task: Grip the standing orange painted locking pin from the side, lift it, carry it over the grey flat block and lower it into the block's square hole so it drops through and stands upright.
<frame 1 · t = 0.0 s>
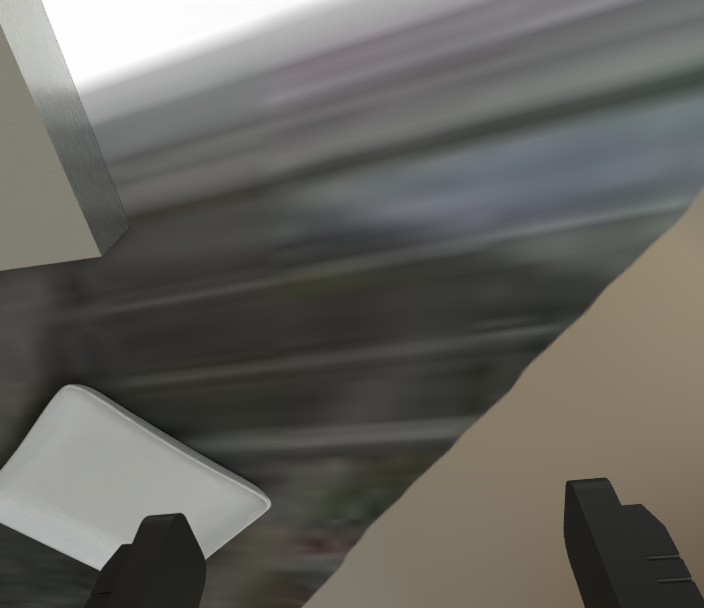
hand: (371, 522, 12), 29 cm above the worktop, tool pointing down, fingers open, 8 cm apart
salad plate: (132, 478, 55), on the worktop
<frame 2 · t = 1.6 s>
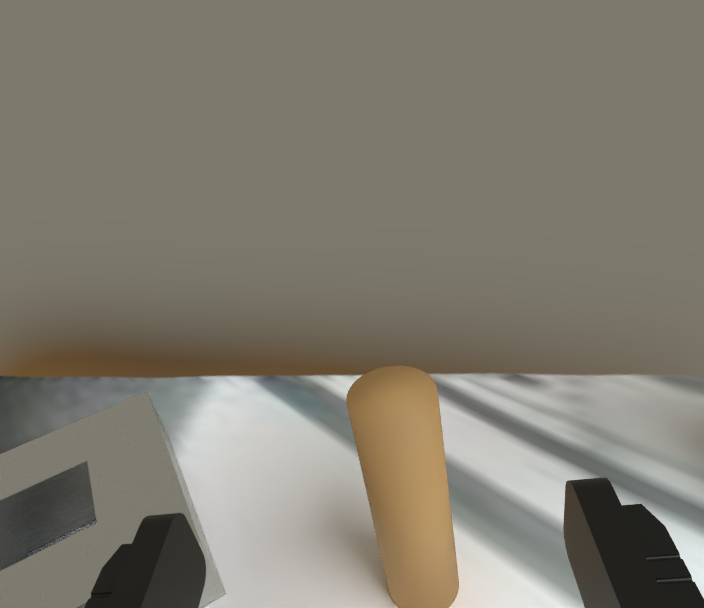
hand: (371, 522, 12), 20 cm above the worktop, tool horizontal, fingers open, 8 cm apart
locking pin: (423, 581, 31), on the worktop
grey flat block: (75, 563, 36), on the worktop
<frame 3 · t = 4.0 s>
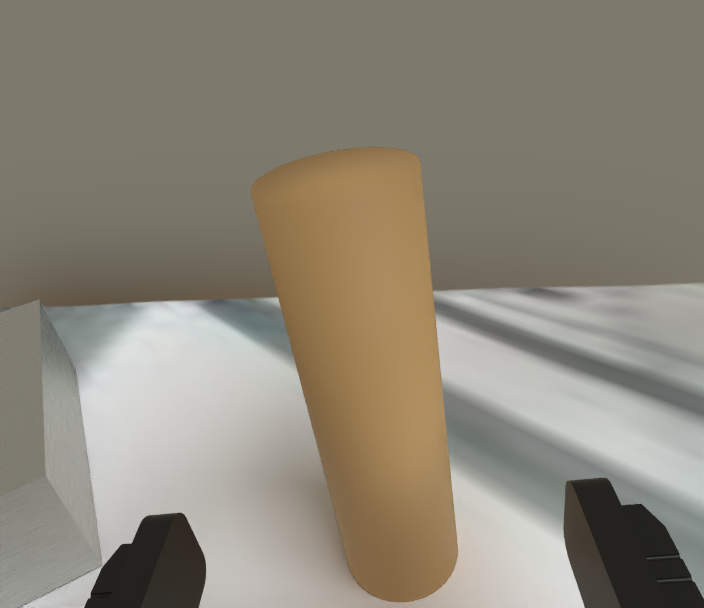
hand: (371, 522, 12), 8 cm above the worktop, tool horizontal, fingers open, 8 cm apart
locking pin: (401, 548, 20), on the worktop
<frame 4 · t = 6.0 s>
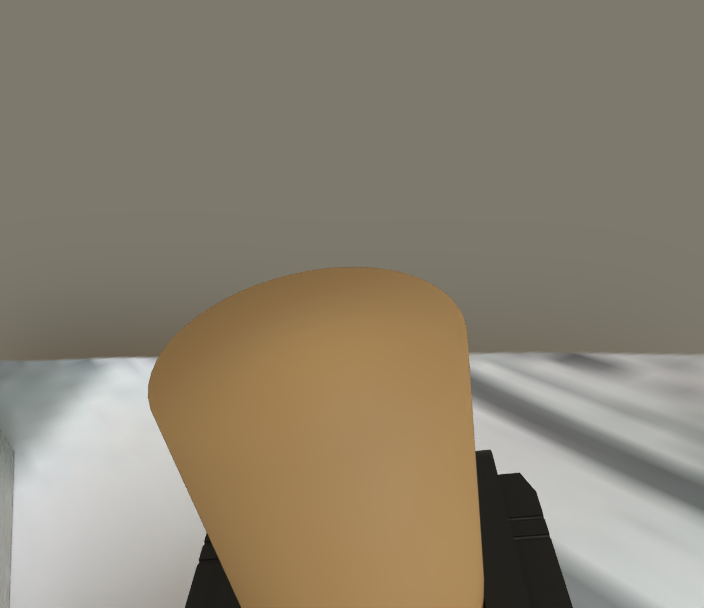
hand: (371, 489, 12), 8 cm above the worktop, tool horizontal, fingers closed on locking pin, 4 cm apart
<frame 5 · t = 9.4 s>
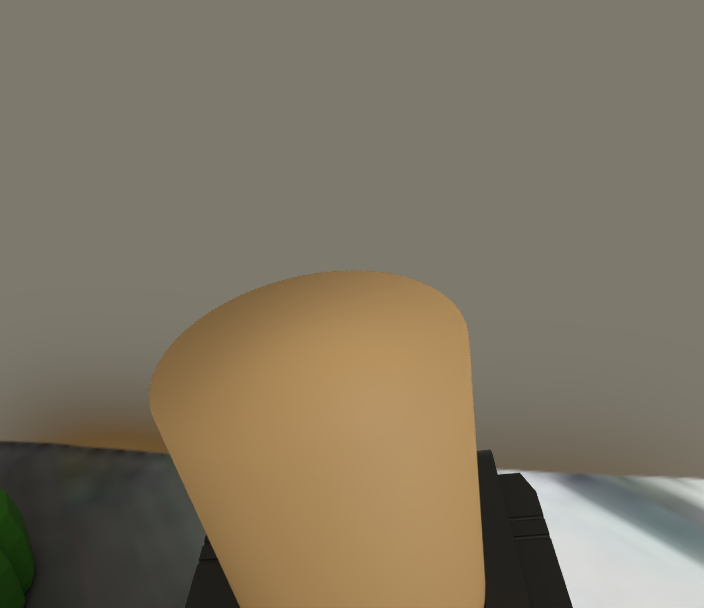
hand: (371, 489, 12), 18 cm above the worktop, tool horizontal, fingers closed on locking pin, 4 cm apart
when the fingers open (10 cm above the worktop, at t = 11.7 s): locking pin drops 2 cm, resting in grey flat block.
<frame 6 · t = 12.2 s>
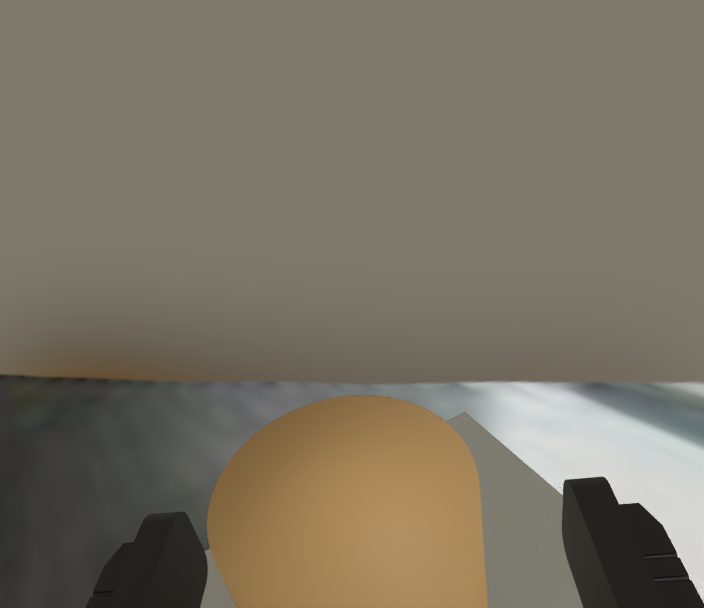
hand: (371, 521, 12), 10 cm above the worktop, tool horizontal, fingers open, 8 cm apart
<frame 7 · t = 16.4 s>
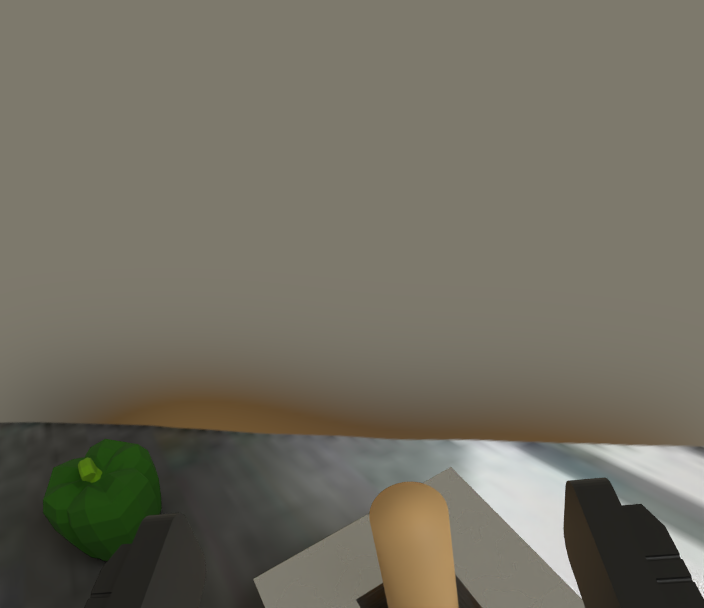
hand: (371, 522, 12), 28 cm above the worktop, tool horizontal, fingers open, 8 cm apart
bell pepper: (127, 537, 47), on the worktop
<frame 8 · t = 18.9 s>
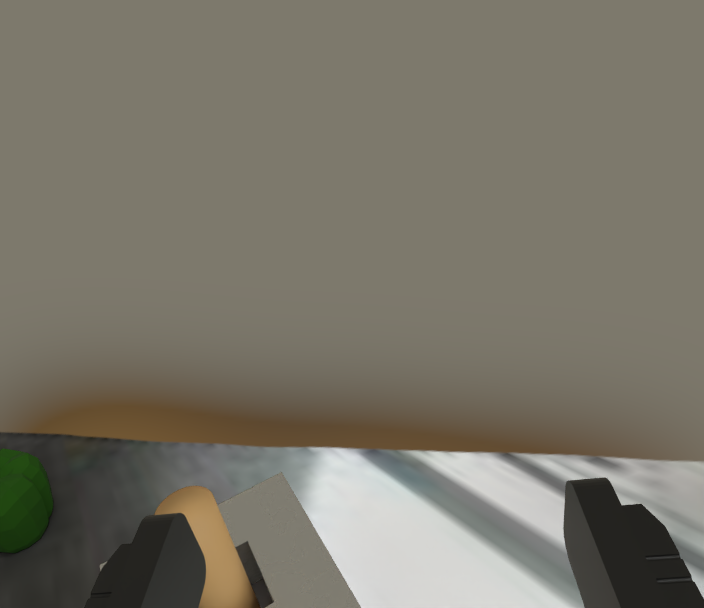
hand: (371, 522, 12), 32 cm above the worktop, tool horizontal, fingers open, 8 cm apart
bell pepper: (23, 532, 55), on the worktop
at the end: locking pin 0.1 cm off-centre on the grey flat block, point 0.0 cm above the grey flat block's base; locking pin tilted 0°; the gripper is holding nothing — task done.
